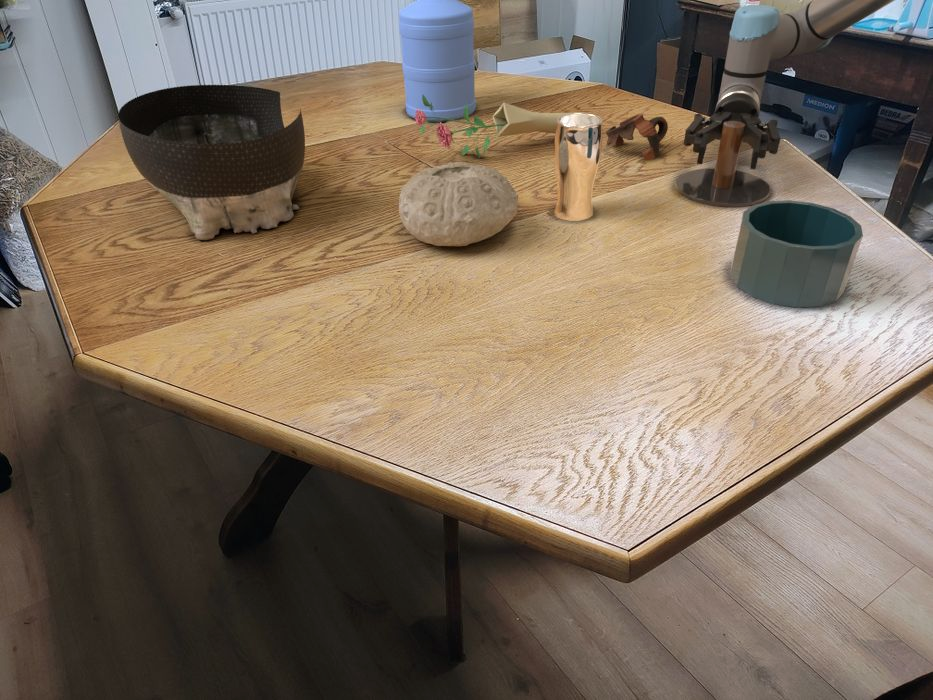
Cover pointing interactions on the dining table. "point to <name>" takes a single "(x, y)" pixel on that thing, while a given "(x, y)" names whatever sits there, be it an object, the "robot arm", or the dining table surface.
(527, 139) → the dining table surface
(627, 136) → the twisted brown loop sculpture
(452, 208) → the decorative shell
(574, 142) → the beer glass
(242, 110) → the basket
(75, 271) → the dining table surface
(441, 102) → the water jug
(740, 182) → the lid
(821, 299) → the pot
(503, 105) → the flower vase
